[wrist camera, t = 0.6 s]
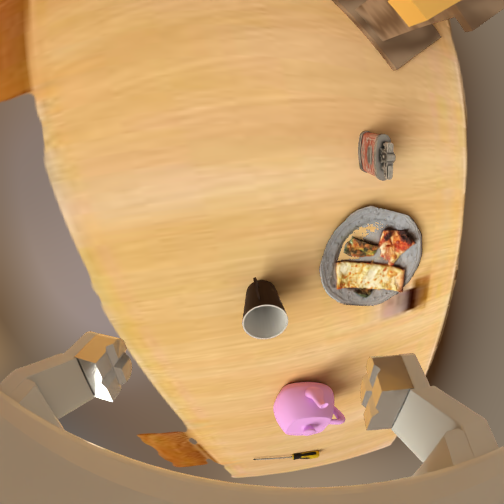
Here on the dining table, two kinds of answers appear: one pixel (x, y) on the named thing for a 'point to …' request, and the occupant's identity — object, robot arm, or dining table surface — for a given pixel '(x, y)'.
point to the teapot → (306, 408)
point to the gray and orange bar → (419, 9)
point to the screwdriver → (299, 456)
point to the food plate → (371, 257)
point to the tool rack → (414, 37)
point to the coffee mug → (263, 311)
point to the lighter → (376, 155)
